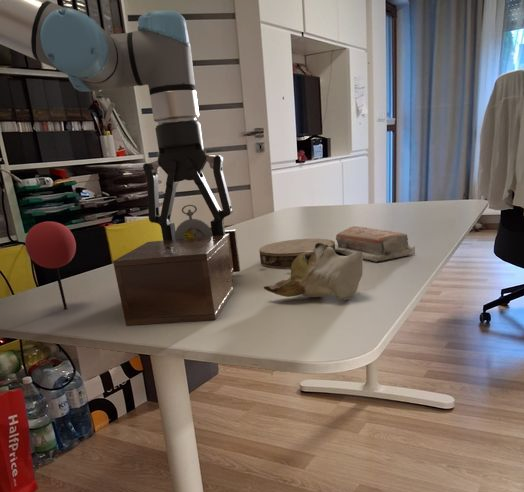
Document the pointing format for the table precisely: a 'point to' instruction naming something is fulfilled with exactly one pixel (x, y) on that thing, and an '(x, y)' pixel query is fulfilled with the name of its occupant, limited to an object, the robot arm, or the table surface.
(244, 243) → the table surface
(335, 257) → the ceramic sculpture
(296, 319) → the table surface
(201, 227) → the pocket watch
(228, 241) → the drawer
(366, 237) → the old brick
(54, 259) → the lollipop
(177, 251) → the wooden box
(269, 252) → the tambourine
